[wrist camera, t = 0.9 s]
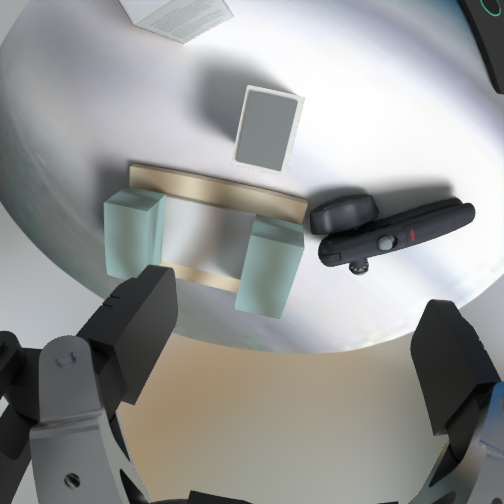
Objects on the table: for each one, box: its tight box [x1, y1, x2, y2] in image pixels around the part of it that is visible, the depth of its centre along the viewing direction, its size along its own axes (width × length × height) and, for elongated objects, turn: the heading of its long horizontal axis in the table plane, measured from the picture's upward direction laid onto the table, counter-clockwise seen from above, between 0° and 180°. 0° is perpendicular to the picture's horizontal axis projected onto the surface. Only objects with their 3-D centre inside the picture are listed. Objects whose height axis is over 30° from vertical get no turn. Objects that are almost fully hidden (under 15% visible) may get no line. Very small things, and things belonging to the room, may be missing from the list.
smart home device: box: [459, 0, 504, 94], centre depth 15 cm, size 8×2×20 cm
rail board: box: [104, 164, 308, 319], centre depth 29 cm, size 18×12×6 cm, turn 78°
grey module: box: [231, 85, 305, 177], centre depth 23 cm, size 4×6×7 cm, turn 168°
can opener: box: [310, 194, 475, 275], centre depth 27 cm, size 18×7×6 cm, turn 105°
